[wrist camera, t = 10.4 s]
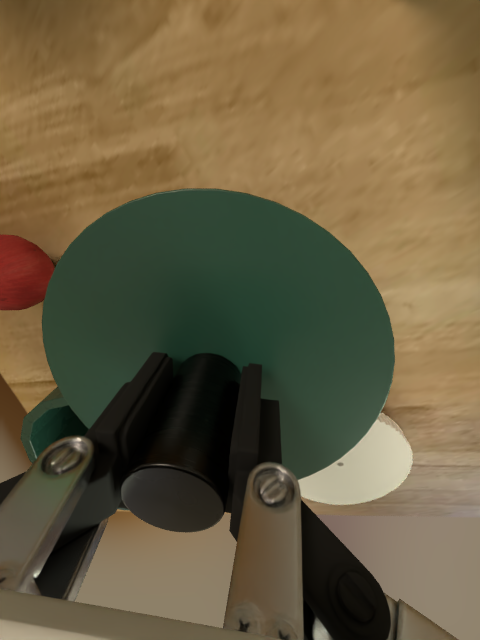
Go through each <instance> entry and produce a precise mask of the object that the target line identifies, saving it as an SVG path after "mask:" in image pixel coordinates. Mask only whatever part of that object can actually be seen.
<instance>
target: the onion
mask: <svg viewBox="0 0 480 640" xmlns="http://www.w3.org/2000/svg"><path fill="white" fill-rule="evenodd" d="M54 270H55V269H54V265H53V263H52V261H51V260H50V258H49V257H48V255H47V254H46V253H45V252H44V251H43V250H41V249H40V248H39V247H38V246H37V245H35V244H33V243H31V242H29V241H27V240H25V239H23V238H21V237H19V236H14V235H0V310H22V309H27V308H29V307H31V306H34V305H36V304H38V303H40V302H42V301H43V300H44V299H45V295H46V291H47V287H48V283H49V281H50V279H51V276H52V274H53V272H54Z"/></svg>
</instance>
